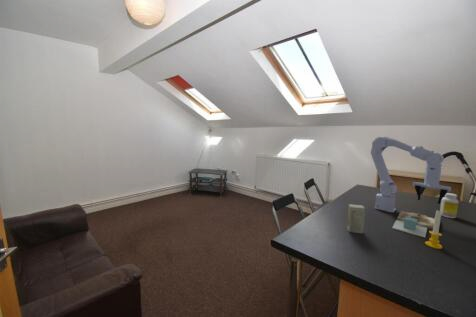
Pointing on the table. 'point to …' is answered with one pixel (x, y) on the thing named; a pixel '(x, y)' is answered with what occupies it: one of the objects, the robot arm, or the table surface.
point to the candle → (435, 233)
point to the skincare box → (355, 218)
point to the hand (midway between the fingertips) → (428, 201)
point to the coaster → (419, 229)
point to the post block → (418, 219)
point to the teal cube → (410, 223)
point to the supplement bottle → (449, 205)
